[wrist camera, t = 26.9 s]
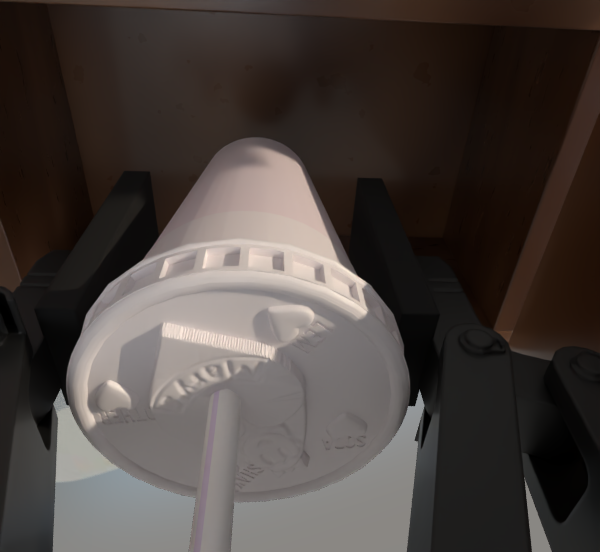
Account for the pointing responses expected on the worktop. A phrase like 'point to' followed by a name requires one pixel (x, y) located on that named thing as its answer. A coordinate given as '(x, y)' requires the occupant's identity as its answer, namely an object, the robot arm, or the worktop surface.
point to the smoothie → (240, 349)
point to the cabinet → (306, 116)
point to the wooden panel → (567, 271)
